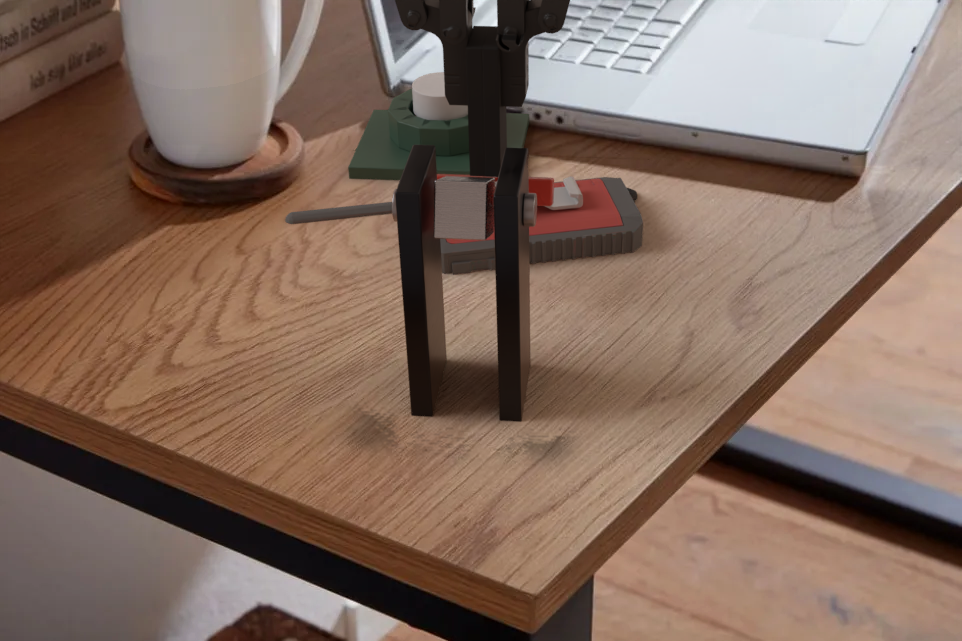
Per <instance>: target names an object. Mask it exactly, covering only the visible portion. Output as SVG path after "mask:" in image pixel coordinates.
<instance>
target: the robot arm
mask: <svg viewBox="0 0 962 641" xmlns="http://www.w3.org/2000/svg"><path fill="white" fill-rule="evenodd" d="M394 3H395V5H396V9H397V12H398V15H399V18H400V21H401V23H402V26H404V27H405V28H406V29H407V30H411V31H419V30H423V31H425V32H428V33H430V34H432V35H434V36H436V38H438V40H439V41H440V43H441V45H442V61H443V63H442V64H443V72H444V83H445V84H444V86H445V96H446V99H447V101H448V103H449V105H463V106H468V132H469V163H470V176H486V177H498V176H499V172H500V168H501V164H502V160H503V155H504V151H505V148H507V118H506V113H507V107H508V108H522V107H523V105H524V102H525V100H526V98H527V94H528V90H529V86H530V84H529V83H530V80H529V79H530V78H529V77H530V75H529V70H530V69H529V68H530V67H529V64H530V63H529V62H530V61H529V60H530V59H529V54H530V53H529V52H530V50H529V49H530V48H529V45H530V44H529V41H530V40H531V39H532V38H534V37H536V36H539V35H542V34H545V33H546V34H556V33H559V32H560V31H561V30H563V27H564V25H565V21H566V18H567V14H568V10H569V7H570V3H571V0H496V14H497V15H496V17H497V18H496V20H497V23H496V24H497V25H496V26H495V25H473V19H474V16H475V13H476V8H477V7H475V6H474V0H394Z"/></svg>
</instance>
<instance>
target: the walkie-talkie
mask: <svg viewBox="0 0 962 641" xmlns="http://www.w3.org/2000/svg"><path fill="white" fill-rule="evenodd" d="M637 200H638V192H637V191H636V190H635V189H632V188H630V187H627V186H626V184H625V183H624V181H623V178H622V177H609V176H603V177H602V176H601V177H592V178H583V179H575V177H574V176H572V175H571V176H568V177H565V178H563V180H562V181H554V202H553V204H552V205H551V206H537V218H536V225H535V226H534V227H529V264H532V265H535V264H536V263H546V262H556V261H566V260H569V259H570V260H576V259H586V258H588V257H589V258H590V257H591V258H596V257H598V256H601V257H605V256H606V255H611V256H616V255H617V254H621V255H625V254H626V253H632V254H633V253H634V252H636V251H637V250H638V249H639V248H641V247H642V246H643V234H644V233H643V232H644V220H643V216H642V214H641V212H640V210H639V208H638V206H637V205H636V203H635V202H636V201H637ZM390 214H392V201H386V202H385V201H384V202H376V203H375V202H374V203H366V204H365V203H364V204H356V205H345V206H337V207H328V208H327V207H326V208H318V209H317V208H316V209H309V210H308V209H307V210H300V211H299V210H298V211H291V212H289V213H288V214H286V216H285V219H284V220H285V222H286V223H285V224H289V225H299V224H307V223H316V222H317V223H318V222H327V221H335V220H336V221H337V220H345V219H353V218H364V217H371V216H381V215H383V216H384V215H390ZM440 243H441V262H442V275H443V274H444V275H446V274H452V275H453V276H454V275H463V274H471V273H472V272H475V271H484V270H485V271H486V270H489V271H495V237H494V232H493V234H492V235H490V236H489V237H488V238H487V239H486V240H466V239H440Z"/></svg>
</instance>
